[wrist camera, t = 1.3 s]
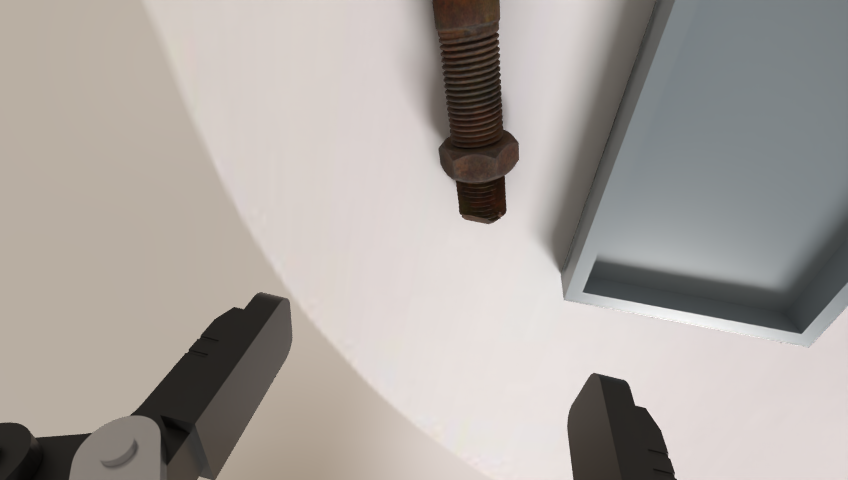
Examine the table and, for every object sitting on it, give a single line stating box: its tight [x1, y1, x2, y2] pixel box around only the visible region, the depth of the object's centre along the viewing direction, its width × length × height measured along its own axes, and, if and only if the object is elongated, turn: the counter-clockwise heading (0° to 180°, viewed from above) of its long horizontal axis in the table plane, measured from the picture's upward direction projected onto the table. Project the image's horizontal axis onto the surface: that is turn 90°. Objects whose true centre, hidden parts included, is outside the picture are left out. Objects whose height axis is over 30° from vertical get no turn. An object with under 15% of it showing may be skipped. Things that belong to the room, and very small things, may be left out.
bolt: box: [433, 0, 519, 224], centre depth 24 cm, size 6×5×15 cm
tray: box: [561, 0, 848, 348], centre depth 22 cm, size 16×24×3 cm, turn 177°
